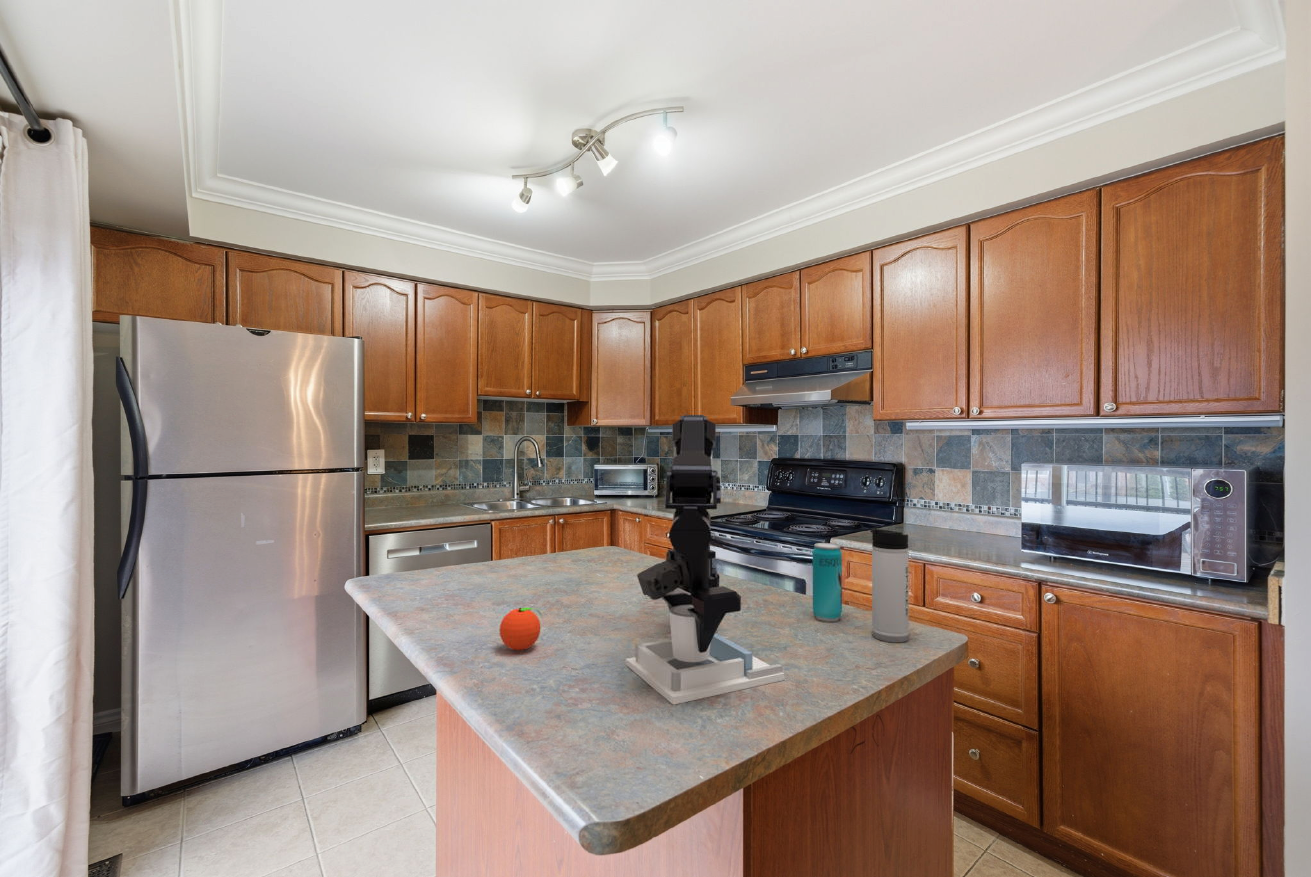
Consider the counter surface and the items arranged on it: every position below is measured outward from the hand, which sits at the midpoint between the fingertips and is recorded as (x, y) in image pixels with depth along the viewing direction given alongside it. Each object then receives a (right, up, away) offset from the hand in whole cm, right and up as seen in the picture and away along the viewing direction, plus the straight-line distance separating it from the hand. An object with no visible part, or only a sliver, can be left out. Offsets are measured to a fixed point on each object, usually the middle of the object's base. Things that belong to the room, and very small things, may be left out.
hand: (691, 645), depth 90 cm
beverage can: (+30, -5, +29) cm, 42 cm away
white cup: (0, -2, 0) cm, 2 cm away
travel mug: (+38, -5, +17) cm, 42 cm away
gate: (+5, -3, +3) cm, 7 cm away
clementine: (-29, -5, +11) cm, 31 cm away
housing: (+2, -4, +1) cm, 5 cm away
